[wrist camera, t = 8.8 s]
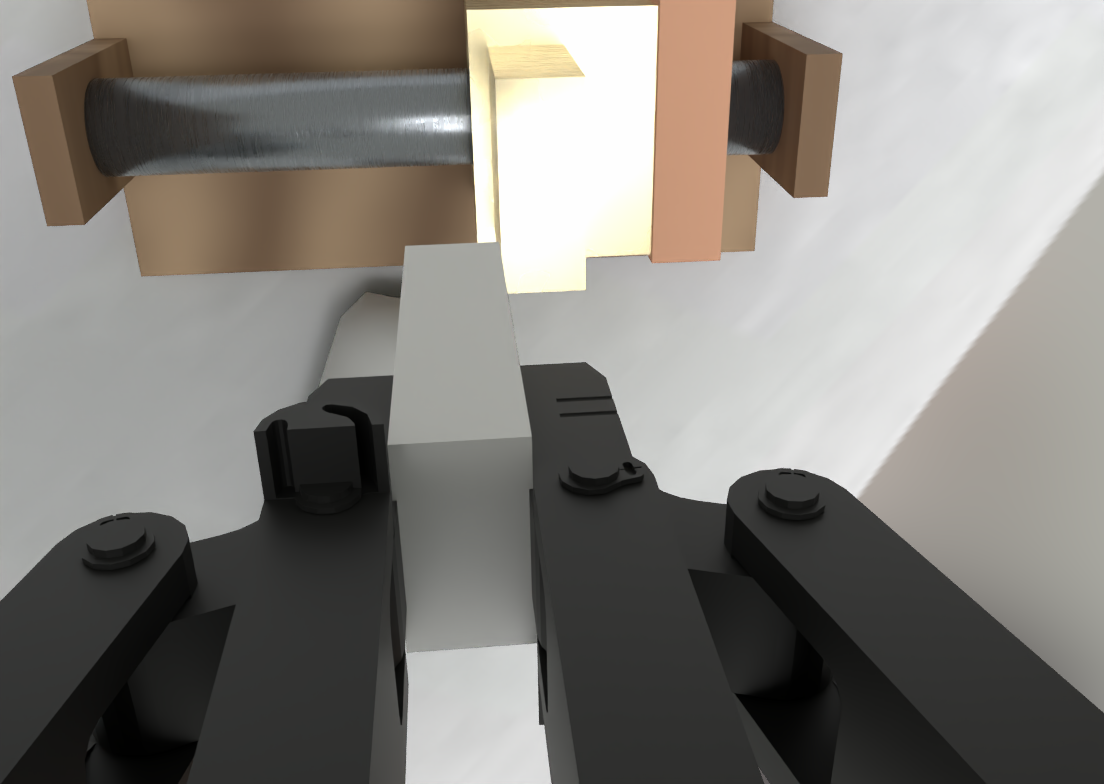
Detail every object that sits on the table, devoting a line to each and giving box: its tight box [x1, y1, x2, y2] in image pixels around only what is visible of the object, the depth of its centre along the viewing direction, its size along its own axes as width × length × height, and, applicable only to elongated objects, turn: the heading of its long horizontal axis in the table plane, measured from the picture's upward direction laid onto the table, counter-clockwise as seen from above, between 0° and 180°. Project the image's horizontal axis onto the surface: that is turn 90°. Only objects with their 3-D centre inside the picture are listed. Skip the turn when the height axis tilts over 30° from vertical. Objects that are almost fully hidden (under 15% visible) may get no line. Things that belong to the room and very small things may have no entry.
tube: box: [318, 292, 400, 388], centre depth 42 cm, size 5×5×25 cm
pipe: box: [84, 60, 784, 177], centre depth 31 cm, size 21×3×3 cm, turn 91°
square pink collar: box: [647, 0, 736, 263], centre depth 32 cm, size 2×7×7 cm, turn 1°
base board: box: [12, 0, 842, 276], centre depth 32 cm, size 22×12×8 cm, turn 91°
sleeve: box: [464, 0, 659, 293], centre depth 29 cm, size 5×7×12 cm
